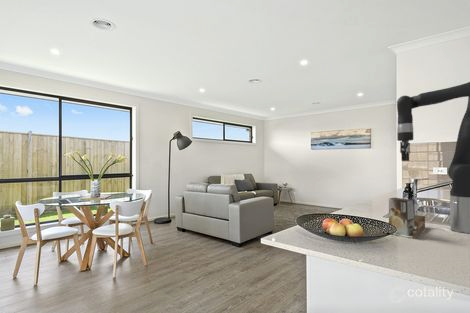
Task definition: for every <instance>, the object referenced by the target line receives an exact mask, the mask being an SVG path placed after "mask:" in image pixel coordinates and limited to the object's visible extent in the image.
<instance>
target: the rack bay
mask: <svg viewBox="0 0 470 313" xmlns="http://www.w3.org/2000/svg"><path fill="white" fill-rule="evenodd" d="M425 228H426V216H425V215H419V214H415V230H414V231H413V234H412V235H404V234H400V233H395V234H393V235H392V236H396V237H402V238H407V239H413V240H417V239H418V237H419V236H420V234H422V232H423V231H424V229H425Z"/></svg>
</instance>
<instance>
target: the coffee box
mask: <svg viewBox="0 0 470 313" xmlns="http://www.w3.org/2000/svg"><path fill="white" fill-rule="evenodd" d="M415 215H416V214H415V199H410V198H404V197H403V198H401V197H391V198H388V223H389V224H391V225H393V226H395V227H396V228H397V232H396V233H400V234H404V235H412V234H413V231H414V230H415V229H416V226H415Z"/></svg>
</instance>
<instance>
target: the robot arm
mask: <svg viewBox="0 0 470 313" xmlns="http://www.w3.org/2000/svg"><path fill="white" fill-rule="evenodd" d="M465 97H467V98H468V99H467V106H466V111H465V113H464V115H463V117H462V119H461V122H460V126H459V130H458V134H457V139H456V143H455V149H454V154H453V157H452V159H451V162H450V165H449V167H448V171H447V174H448V177H449V179H450V180H452V185H451V186H452V187H451V189H450V190H449V213H450V214H449V216H450V217H449V218H450V219H449V220H450V222H449V227H450V230H452V231H453V232H458V233H465V234H470V81H468V82H466V83H461V84H458V85H454V86H450V87H447V88H442V89H437V90H432V91H427V92H421V93H419V94H417V95H413V96H410V95H402V96H400V97H399V98H398V99H397V101H396V107H397V108H396V109H397V111H396V112H397V127H396V128H397V131H396V133H397V134H396V136H397V137H396V138H397V141H398V142H399V141H400V142H399V144H400V146H399V147H400V148H399V152H400V155H401V161H402V162H409V161H410V154H411V143H410V141H413V140H414V122H413V120H414V119H413V114H412V113H413V110H412V109H416V108H421V107H425V106H430V105H437V104H441V103H445V102H448V101H451V100H455V99H459V98H460V99H461V98H465Z"/></svg>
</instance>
